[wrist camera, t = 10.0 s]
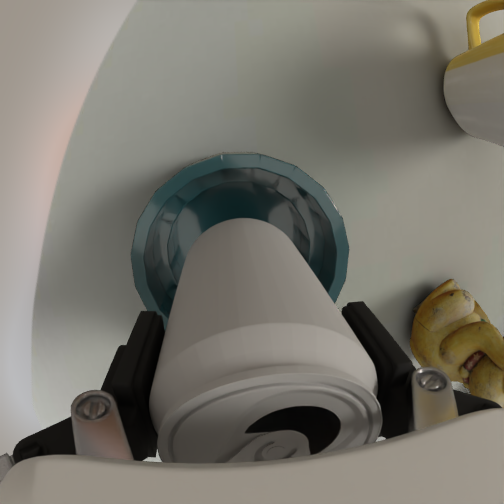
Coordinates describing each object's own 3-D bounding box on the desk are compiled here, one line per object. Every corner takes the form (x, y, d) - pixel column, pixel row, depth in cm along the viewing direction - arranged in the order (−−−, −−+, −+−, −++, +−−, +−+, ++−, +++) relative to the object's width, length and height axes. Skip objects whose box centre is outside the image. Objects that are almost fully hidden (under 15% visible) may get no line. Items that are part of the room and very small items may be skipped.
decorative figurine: (470, 315, 29) (552, 391, 15) (420, 365, 30) (488, 457, 16) (444, 261, 26) (555, 340, 12) (384, 320, 28) (471, 432, 13)
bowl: (161, 314, 25) (148, 358, 20) (147, 156, 21) (122, 160, 15) (313, 308, 26) (335, 350, 21) (323, 153, 22) (355, 157, 16)
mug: (491, 163, 23) (571, 182, 14) (417, 130, 22) (510, 135, 12) (497, 46, 19) (568, 36, 9) (426, 1, 18) (498, -35, 8)
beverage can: (320, 259, 18) (437, 410, 7) (251, 337, 19) (282, 516, 8) (231, 190, 16) (254, 298, 5) (163, 282, 17) (103, 464, 6)
